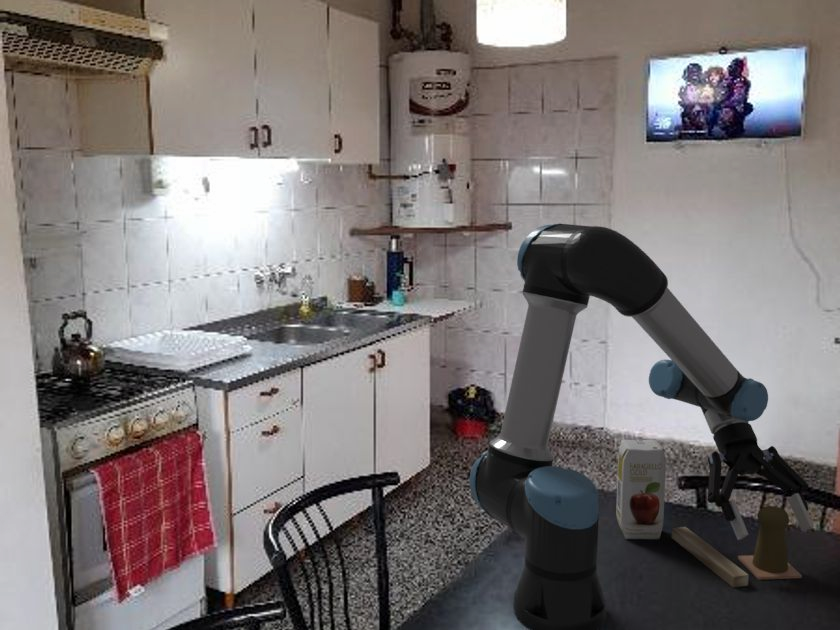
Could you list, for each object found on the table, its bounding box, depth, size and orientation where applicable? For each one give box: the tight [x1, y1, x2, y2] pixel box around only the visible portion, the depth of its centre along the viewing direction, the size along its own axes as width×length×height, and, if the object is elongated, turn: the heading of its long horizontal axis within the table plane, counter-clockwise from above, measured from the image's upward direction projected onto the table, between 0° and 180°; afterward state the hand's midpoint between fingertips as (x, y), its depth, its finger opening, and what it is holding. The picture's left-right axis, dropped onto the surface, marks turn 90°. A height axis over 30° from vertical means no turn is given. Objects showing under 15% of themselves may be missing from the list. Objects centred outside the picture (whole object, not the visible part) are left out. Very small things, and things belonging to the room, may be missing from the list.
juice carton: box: [615, 438, 667, 540], centre depth 154 cm, size 8×9×19 cm
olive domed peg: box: [752, 505, 790, 573], centre depth 140 cm, size 6×6×11 cm
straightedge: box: [671, 526, 750, 588], centre depth 144 cm, size 3×20×2 cm, turn 13°
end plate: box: [737, 554, 803, 581], centre depth 141 cm, size 8×8×1 cm
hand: (776, 533), depth 140 cm, fingers open, 13 cm apart
